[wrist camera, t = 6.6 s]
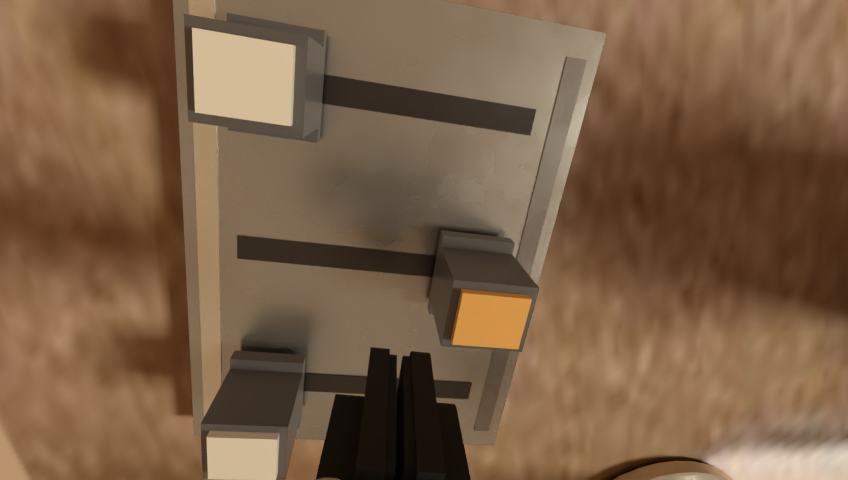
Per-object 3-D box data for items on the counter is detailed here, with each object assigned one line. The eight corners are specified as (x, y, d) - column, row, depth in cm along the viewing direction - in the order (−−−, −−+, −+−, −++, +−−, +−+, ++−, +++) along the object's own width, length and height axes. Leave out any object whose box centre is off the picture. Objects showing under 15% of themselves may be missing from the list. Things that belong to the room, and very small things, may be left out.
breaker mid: (510, 238, 17) (546, 278, 13) (492, 312, 18) (521, 368, 14) (441, 230, 16) (458, 270, 13) (427, 307, 18) (440, 363, 14)
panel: (590, 37, 16) (607, 33, 15) (487, 427, 23) (493, 446, 21) (187, -43, 14) (169, -56, 13) (204, 416, 20) (193, 436, 19)
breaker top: (305, 354, 18) (286, 422, 14) (301, 418, 19) (283, 495, 15) (234, 350, 17) (196, 419, 14) (235, 415, 19) (200, 494, 15)
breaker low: (326, 32, 14) (307, 11, 10) (319, 140, 15) (300, 157, 11) (233, 16, 13) (177, -13, 9) (233, 128, 14) (184, 142, 11)
